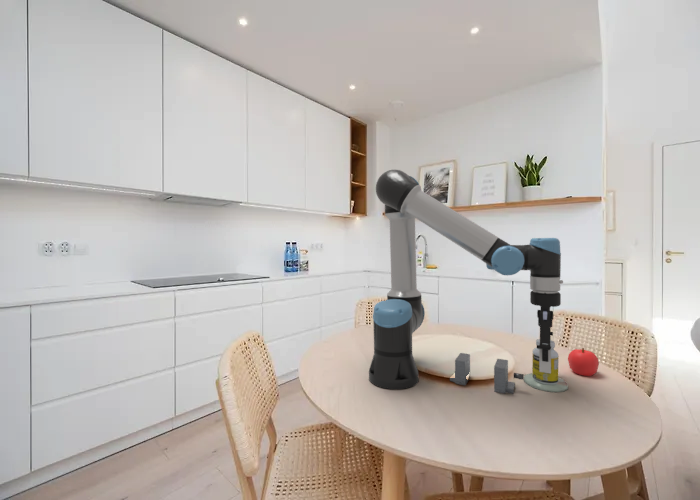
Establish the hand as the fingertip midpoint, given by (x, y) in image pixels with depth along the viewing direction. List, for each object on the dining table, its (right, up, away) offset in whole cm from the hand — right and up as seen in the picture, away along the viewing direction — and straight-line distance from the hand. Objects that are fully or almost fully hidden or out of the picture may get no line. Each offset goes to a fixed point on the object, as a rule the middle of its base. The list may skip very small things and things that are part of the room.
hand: (545, 364), depth 96 cm
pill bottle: (0, -5, 0) cm, 5 cm away
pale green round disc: (0, -6, 0) cm, 6 cm away
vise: (-17, -6, 0) cm, 18 cm away
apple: (+16, -5, +7) cm, 18 cm away
